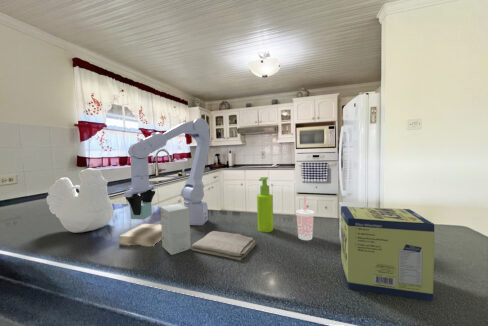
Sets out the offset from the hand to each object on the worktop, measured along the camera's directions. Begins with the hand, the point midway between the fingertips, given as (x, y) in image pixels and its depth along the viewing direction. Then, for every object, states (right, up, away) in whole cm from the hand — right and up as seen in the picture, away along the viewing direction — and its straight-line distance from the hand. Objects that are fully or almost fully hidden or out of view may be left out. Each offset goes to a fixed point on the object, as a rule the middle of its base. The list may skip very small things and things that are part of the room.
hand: (142, 212), depth 78 cm
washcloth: (+31, -9, -11) cm, 34 cm away
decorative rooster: (-28, -9, +9) cm, 31 cm away
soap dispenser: (+45, -7, +3) cm, 46 cm away
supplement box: (+72, -8, -11) cm, 73 cm away
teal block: (0, -2, 0) cm, 2 cm away
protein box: (+68, -9, -30) cm, 75 cm away
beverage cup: (+58, -8, -5) cm, 59 cm away
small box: (+16, -9, -11) cm, 21 cm away
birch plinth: (+3, -9, -3) cm, 9 cm away
